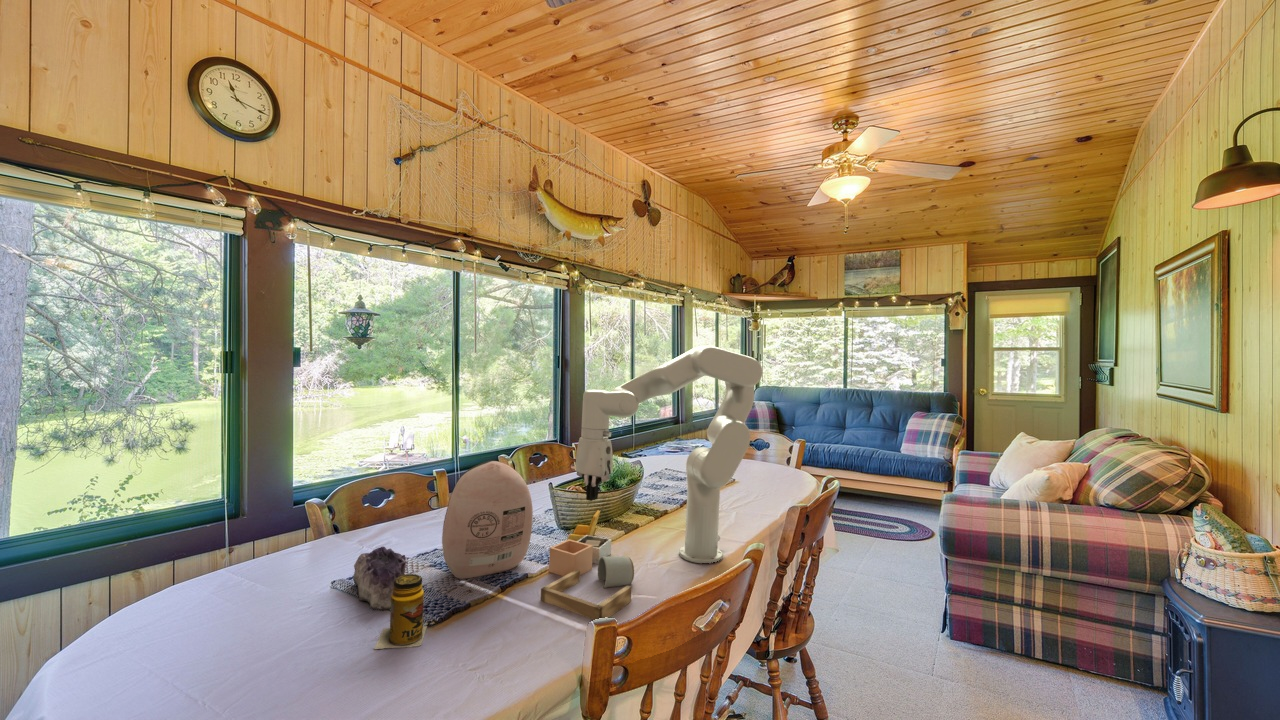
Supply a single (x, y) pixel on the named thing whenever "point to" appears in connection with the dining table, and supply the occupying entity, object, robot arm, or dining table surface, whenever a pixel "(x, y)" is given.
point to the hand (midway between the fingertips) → (591, 499)
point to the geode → (378, 576)
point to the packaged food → (487, 521)
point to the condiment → (405, 614)
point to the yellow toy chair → (585, 529)
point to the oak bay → (580, 606)
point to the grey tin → (602, 550)
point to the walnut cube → (593, 543)
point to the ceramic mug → (615, 571)
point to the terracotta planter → (570, 557)
